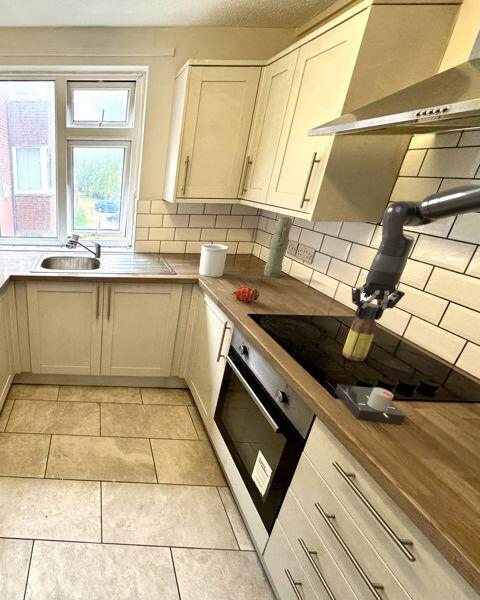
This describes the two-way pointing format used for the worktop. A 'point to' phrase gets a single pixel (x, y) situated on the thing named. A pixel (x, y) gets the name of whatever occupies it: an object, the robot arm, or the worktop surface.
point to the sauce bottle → (361, 335)
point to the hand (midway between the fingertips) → (367, 317)
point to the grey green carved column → (278, 247)
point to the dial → (380, 399)
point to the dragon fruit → (246, 294)
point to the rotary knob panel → (358, 406)
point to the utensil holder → (212, 260)
